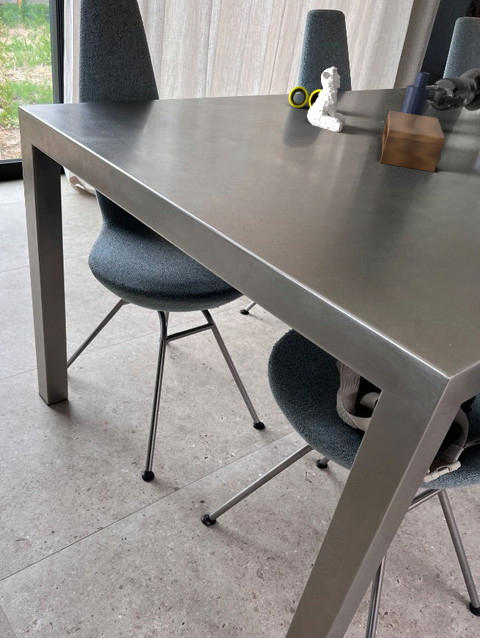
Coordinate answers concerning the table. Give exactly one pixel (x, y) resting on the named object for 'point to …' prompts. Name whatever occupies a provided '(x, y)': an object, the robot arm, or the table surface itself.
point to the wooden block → (412, 141)
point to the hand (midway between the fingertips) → (423, 97)
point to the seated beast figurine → (327, 103)
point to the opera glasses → (310, 99)
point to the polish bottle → (416, 95)
